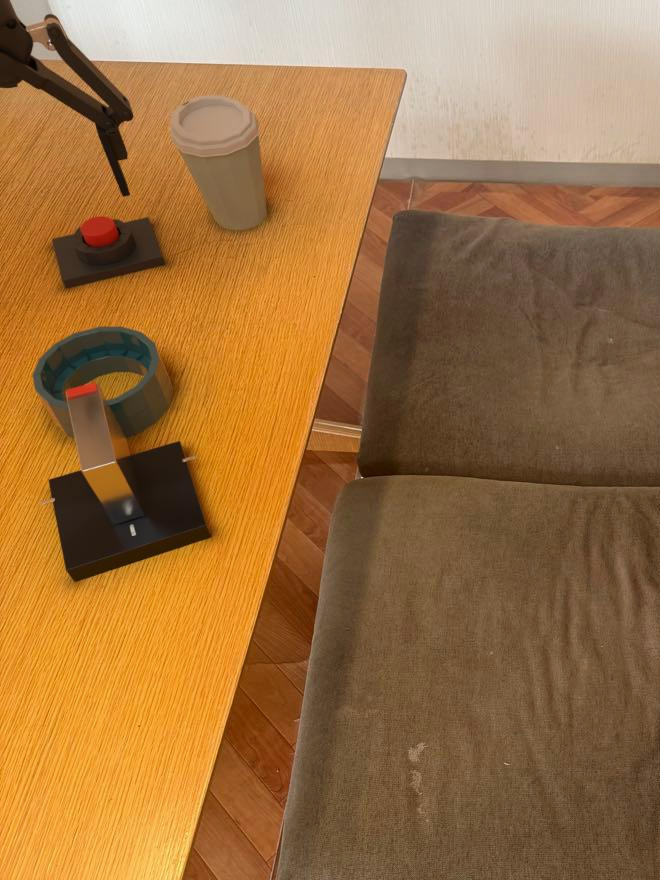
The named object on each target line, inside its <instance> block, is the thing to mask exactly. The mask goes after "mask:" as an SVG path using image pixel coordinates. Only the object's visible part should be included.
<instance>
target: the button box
mask: <svg viewBox="0 0 660 880" xmlns="http://www.w3.org/2000/svg"><path fill="white" fill-rule="evenodd" d="M149 217H150V216H147V217H146V216H145V217H142V218H138V219H133V220H129V221H125V222H123V220H120V219H118V218H117V219H115V218H111V219H112V220H113V221H114V223H115V225H116V228H117V230H118V233H119V238H118V240H117V241H115V242H113V243H112V244H110V245H107V246H102V247H92V246H89V245H88V244H87V243H86V241H85V239H84V237H83V235H82V232H81V230H80V228H81V226H79V227H78V228H76V230H75V231H74V233H72V234H68V235H63V236H58V237H54V238H51V242H52V246H53V250H54V255H55V258H56V262H57V266H58V267H57V268H58V271H59V274H60V278H61V282H62V285H63V286H64V288H65V290H67V289H72V288H76V287H80V286H85V285H89V284H93V283H96V282H101V281H104V280H105V281H106V280H110V279H112V278H116V277H117V278H118V277H121V276H126V275H129V274H134V273H137V272H142V271H146V270H150V269H155V268H159V267H163V266H166V261H165V259H164V257H163V253H162V251H161V248H160V245H159V242H158V240H157V239H158V238H157V236H156V234H155V231H154V227H153V225H152V223H151V220H150V218H149Z"/></svg>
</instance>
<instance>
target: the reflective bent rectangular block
mask: <svg viewBox="0 0 660 880" xmlns="http://www.w3.org/2000/svg"><path fill="white" fill-rule="evenodd" d="M65 392H66V397H67V402H68V407H69V412H70V417H71V422H72V426H73V431H74V436H75V438H74V441H75V445H76V450H77V455H78V460H79V465H80V470H82V473H83V475H84V476H85V478H86V480H87V481H88V483H89V485H90V486H91V488H92V489H93V491H94V493H95V494H96V496H97V498H98V499H99V501H100V503H101V504H102V506H103V508H104V509H105V511H106V513H107V514H108V516H109V518H110V519H111V521H112V523H113V524H114V525H115V524H118V523H121V522H125V521H128V520H131V519H135V518H138V517H141V516H144V515H145V512H144V507H143V503H142V499H141V495H140V491H139V487H138V483H137V479H136V475H135V471H134V467H133V463H132V459H131V455H132V454H131V452H130V448H129V444H128V440H127V439H128V438H126V437H125V435H124V433H123V431H122V429H121V427H120V425H119V423H118V421H117V419H116V417H115V415H114V413H113V411H112V410H111V408H110V406H109V404H108V402H107V400H108V399H107V397H106V396H105V393H104V392H103V390H102V388H101V386H100V384H99V382H95V381H94V382H91V383H90V382H89V383H86V384H85V385H83V386H79V387H75V388H71V389H68V390H66V391H65Z"/></svg>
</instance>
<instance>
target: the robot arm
mask: <svg viewBox="0 0 660 880" xmlns="http://www.w3.org/2000/svg"><path fill="white" fill-rule="evenodd" d="M34 43H38V44H39V43H40V44H41V45H43V46H44V48H45V49H47V50H48V51H51V52H54V51H56V53H57V54H58V56H59V57H60V59H61V60H62V61H63V62H64V63H65V64H66V65H67V66H68V67H69V68H70V69H71V70H72V71H73V72H74V73H75V74H76V75H77V76H78V78H80V79H81V80H82V81H83V82H84V83H85V84H86V85H87V86H88V87H89V88H90V89H91V90H92V91H93V92H94V93H95V94H96V95H97V96H98V97H99V98H100V99H101V100H102V101H103V102H104V103H105V104H104V103H102V102H101V101H99V100H97V99H96V98H94V97H93V96H91V95H90V94H89V93H87V92H85V91H84V90H82V89H81V88H79V87H77V86H76V85H75V84H73V83H72V82H70V81H69V80H67V79H65V78H64V77H63V76H61V75H59V74H58V73H57V72H55V71H53V70H52V69H51V68H49V67H47V66H46V65H45V64H44V63H43V62H42V61H41V60H40V59H38V58H36V57H35V56H34V55H33V54H32V52H33V48H34ZM22 82H24V83H27V84H28V85H29V86H31V87H33V88H35V89H36V90H39V91H40V90H41V91H43V92H45V93H46V94H48V95H49V96H51V97H52V98H54V99H55V100H57V101H59V102H60V103H62V104H63V105H65V106H67V107H68V108H70V109H71V110H73V111H74V112H77V113H78V114H79V115H81V116H83V117H84V118H86V120H87V119H88V120H89V121H91V122H92V123H93V124H94V125H95V129H96V133H97V135H98V139H99V141H100V144H101V146H102V149H103V151H104V153H105V156H106V159H107V161H108V164H109V166H110V169H111V172H112V174H113V177H114V179H115V181H116V184H117V186H118V189H119V191H120V194H121V196H122V198H124V197H129V196H131V192H130V189H129V186H128V182H127V180H126V177H125V175H124V172H123V169H122V166H121V164H120V161H125V160H128V150H127V147H126V144H125V142H124V139H123V137H122V133H121V131H120V126H121V124H123V123H124V122H131V121H132V120H133V119H134V112H133V109H132V106H131V103H130V101H129V99H128V98H127V97H126V96H125V95H124V94H123V92H121V90H119V89H118V88H117V87H116V85H115V84H114V83H113V82H112V81H111V80H110V79H109V78H108V77H107V76H106V75H105V74H104V73H103V72H102V71H101V70H100V69H99V68H98V67H97V66H96V65H95V63H93V62H92V60H91V59H89V58H88V57H87V56H86V54H84V53H83V51H82V50H80V49H79V48H78V46H77V45H75V43H74V42H72V41H71V39H70V38H69V37H68V34H67V33H66V30H65V29H64V27H63V25H62V23H61V21H60V19H59V18H58V16H56V15H55V14H53V13H47V14H46V15H45V16H44V18H43V21H41V22H37V23H34V24H30V25H26V24H24V23H23V22H22V20H20V18H19V17H18V15H17V13H16V11H15V8H14V6H13V3H12V1H11V0H0V89H12V88H13V89H14V88H18V86H19V85H18V84H20V83H22Z"/></svg>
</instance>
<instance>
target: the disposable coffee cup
mask: <svg viewBox="0 0 660 880" xmlns="http://www.w3.org/2000/svg"><path fill="white" fill-rule="evenodd" d="M170 120H171V121H170V131H169V132H170V133H169V136H170V140H171V143H172V144H173V145H174V147H176V148H177V151H178V152H179V154H180V156H181V158H182V160H183V162H184V164H185V165H186V167H187V169H188V171H189V173H190V175H191V177H192V179H193V181H194V183H195V185H196V186H197V188H198V190H199V192H200V194H201V197H202V198H203V200H204V202H205V203H206V206H207V207H208V209H209V212H210V213H211V215H212V218H213V219H214V221H215V222H216V223H217V224H218V225H219V226H220V227H221V228H223V229H227V230H230V231H244V230H245V231H246V230H249V229H252V228H255V227H257V226H259V225H261V224H262V223H263V222H264V221H265V220H266V218H267V217H268V209H267V199H266V190H265V182H264V173H263V172H264V171H263V164H262V154H261V145H260V138H259V136H260V131H259V123H260V122H259V121H258V119H257V115H256V114H255V113H254V112H252V110H250V109H249V108H248V107H247V106H246V105H244V104H243V102H242V101H240V100H238V99H235V98H232V97H228V96H225V95H222V94H200V95H198V96H196V97H192V98H190V99H187V100H185V101H184V102H182V103H181V104H179V105H178V106H177V107H176V108H174V110H173V111H171V119H170Z"/></svg>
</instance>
